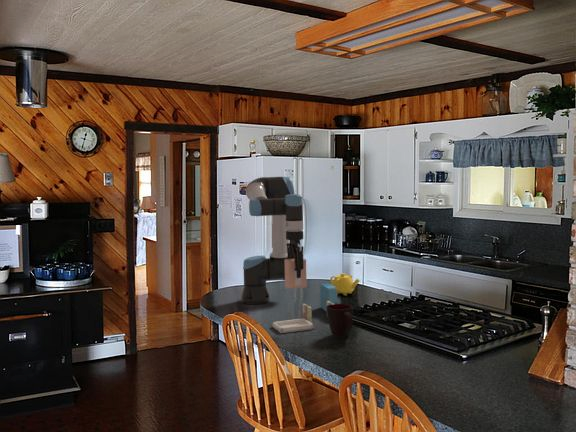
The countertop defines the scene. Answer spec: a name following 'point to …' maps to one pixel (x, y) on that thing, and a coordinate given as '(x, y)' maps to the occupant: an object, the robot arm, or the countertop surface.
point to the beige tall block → (291, 274)
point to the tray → (292, 325)
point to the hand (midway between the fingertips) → (295, 283)
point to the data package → (327, 295)
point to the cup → (340, 319)
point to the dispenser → (310, 311)
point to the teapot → (344, 283)
